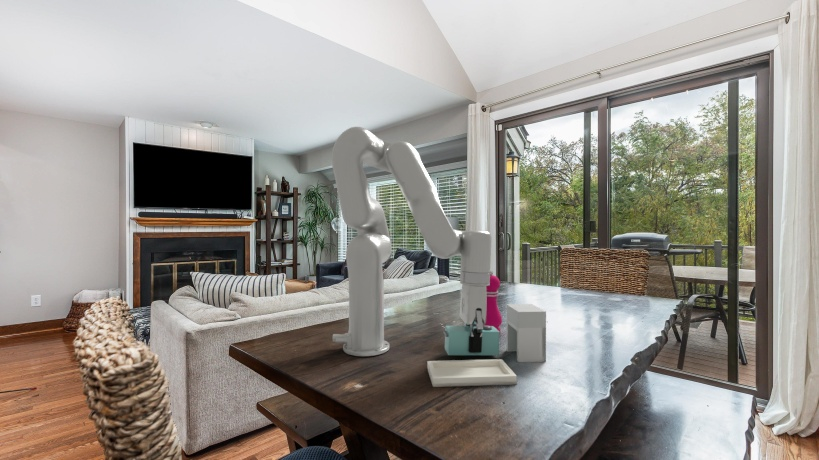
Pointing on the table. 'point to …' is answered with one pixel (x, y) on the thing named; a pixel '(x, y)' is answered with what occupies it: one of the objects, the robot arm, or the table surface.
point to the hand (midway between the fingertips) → (472, 347)
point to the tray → (470, 373)
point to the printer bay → (526, 332)
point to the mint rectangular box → (460, 340)
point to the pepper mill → (493, 303)
